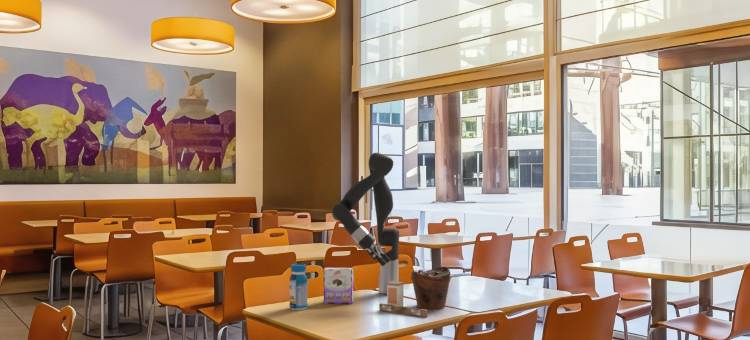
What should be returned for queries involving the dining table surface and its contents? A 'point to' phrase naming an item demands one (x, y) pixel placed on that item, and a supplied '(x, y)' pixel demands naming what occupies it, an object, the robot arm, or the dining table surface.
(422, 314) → the rail
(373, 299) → the dining table surface
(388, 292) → the sugar carton
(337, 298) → the candy box
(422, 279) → the brown round rimmed container
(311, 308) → the dining table surface
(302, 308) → the beverage bottle
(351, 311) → the dining table surface
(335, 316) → the dining table surface
